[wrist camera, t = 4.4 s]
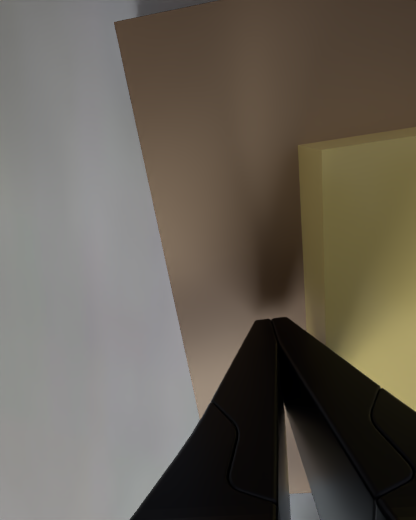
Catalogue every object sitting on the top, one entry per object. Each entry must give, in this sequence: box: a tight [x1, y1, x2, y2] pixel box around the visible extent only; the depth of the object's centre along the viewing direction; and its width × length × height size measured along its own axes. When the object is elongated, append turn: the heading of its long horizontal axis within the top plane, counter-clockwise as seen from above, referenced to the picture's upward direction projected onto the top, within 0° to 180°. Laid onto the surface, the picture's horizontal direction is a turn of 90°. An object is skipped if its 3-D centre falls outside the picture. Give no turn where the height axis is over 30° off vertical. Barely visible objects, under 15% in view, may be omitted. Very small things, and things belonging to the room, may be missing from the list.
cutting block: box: [114, 0, 416, 494], centre depth 10 cm, size 15×13×2 cm
